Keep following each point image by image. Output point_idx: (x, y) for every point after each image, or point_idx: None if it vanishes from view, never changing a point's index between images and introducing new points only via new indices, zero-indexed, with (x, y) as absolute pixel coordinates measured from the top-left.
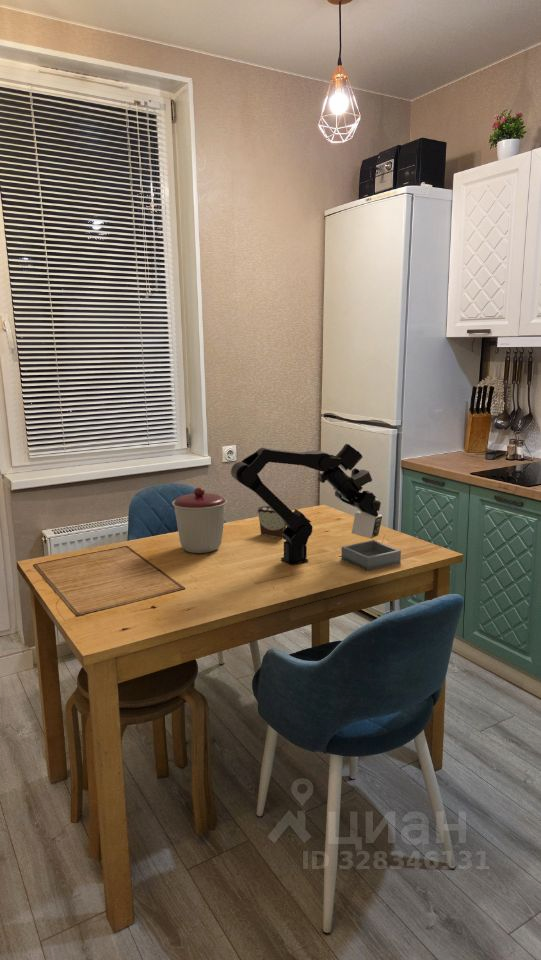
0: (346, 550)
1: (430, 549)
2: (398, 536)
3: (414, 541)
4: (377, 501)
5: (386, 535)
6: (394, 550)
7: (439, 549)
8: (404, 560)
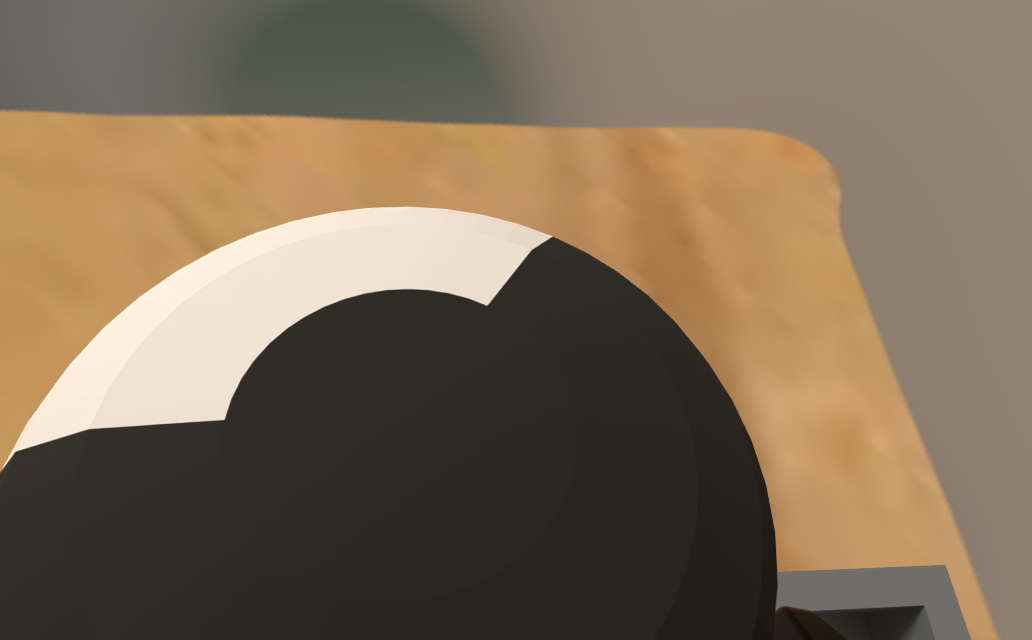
0: None
1: (647, 173)
2: (271, 146)
3: (441, 140)
4: (701, 397)
5: (183, 195)
6: (891, 606)
7: (672, 133)
8: (807, 497)
